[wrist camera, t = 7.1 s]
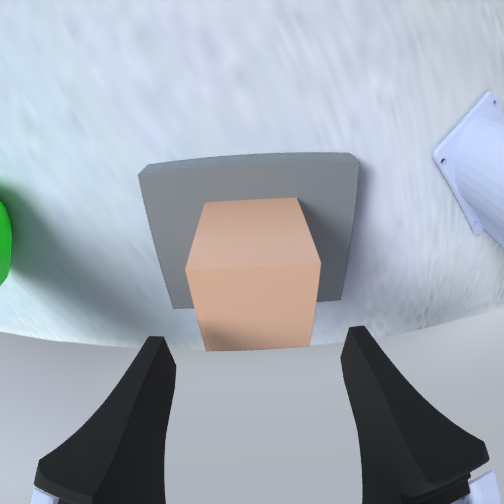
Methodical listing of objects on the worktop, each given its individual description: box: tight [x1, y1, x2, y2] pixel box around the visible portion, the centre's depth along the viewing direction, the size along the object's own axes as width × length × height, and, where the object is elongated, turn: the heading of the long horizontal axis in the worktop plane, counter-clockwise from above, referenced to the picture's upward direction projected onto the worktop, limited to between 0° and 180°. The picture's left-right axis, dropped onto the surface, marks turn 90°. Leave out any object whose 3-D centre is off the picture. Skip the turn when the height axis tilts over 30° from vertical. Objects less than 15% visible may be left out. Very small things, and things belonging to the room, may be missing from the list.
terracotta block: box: [185, 198, 321, 351], centre depth 14 cm, size 5×5×6 cm
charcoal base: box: [138, 153, 360, 309], centre depth 18 cm, size 12×10×2 cm
